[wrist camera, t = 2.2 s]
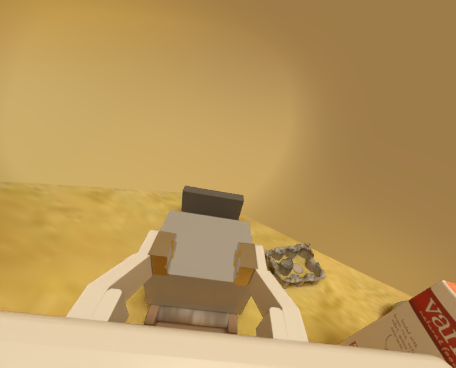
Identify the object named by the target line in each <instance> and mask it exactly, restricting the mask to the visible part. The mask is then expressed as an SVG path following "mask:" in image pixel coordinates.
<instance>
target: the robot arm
mask: <svg viewBox="0 0 456 368" xmlns="http://www.w3.org/2000/svg"><path fill="white" fill-rule="evenodd" d="M176 238H177V234H176V233H171V232H165V231H159V230H152V229H151V230H150V231H149V232H148V234H147V236H146V238H145V240H144V242H143V243H142V245H141V247H140V249H139V251H138V253H134V254H132V255H131V256H129V257H128V258H127V259H125V260H124V261H122V262H121V263H119V264H118V265H116V266H115V267H113V268H112V269H110V270H109V271H107V272H106V273H105V274H103V275H102V276H100V277H99V278H97V279H96V280H94V281H93V282H91V283H90V284H88V286H87V287H86V289H85V290H84V291H83V293H82V294H81V296H80V297H79V299H78V300H77V301H76V303H75V304H74V306H73V307H72V309H71V310H70V311H69V313H68V314H67V316H66V317H61V316H51V315H41V314H31V313H22V312H12V311H2V310H0V368H453V367H452V366H450V365H449V364H448V363H446V362H445V361H444V360H443V359H441V358H439V357H437V356H433V355H429V354H420V353H410V352H400V351H391V350H381V349H371V348H362V347H352V346H342V345H332V344H323V343H313V342H308V338H307V335H306V331H305V327H304V324H303V320H302V317H301V313H300V310H299V308H298V307H297V306H296V305H295V303H294V302H293V301H292V299H291V298H290V297H289V295H288V294H287V293H286V292H285V290H284V289H283V288H282V286H281V285H280V284H279V282H278V281H277V280H276V279H275V277H274V276H273V275H272V273H271V272H270V271H267V266H266V260H265V255H264V249H263V246H262V245H256V244H250V243H242V242H238V243H237V250H235V253H234V258H233V266H234V268H235V269H234V272H233V284H234V285H241V286H247V288H248V290H249V292H250V294H251V296H252V298H253V299H254V301H255V303H256V305H257V307H258V309H259V311H260V313H261V315H262V317H263V319H262V321H261V322H260V324H259V325H258V326H257V328H256V334H257V337H255V336H245V335H235V334H226V333H216V332H206V331H197V330H187V329H177V328H168V327H158V326H148V325H138V324H129V323H126V320H127V318H128V311H127V308H126V304H125V302H126V301H127V300H128V299H129V298H130V297H131V296H132V295H133V294H134V293H135V292H136V291H137V290H138V289H139V288H140V287H141V286H142V285H143V284H144V283H145V282H146V281H147V280H148V279H149V278H150V277H151V276H152V275H161V276H168V273H169V270H170V267H171V260H172V259H173V258H174V255H175V251H176V246H177V242H176Z"/></svg>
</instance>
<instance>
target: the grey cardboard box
mask: <svg viewBox="0 0 456 368" xmlns="http://www.w3.org/2000/svg"><path fill="white" fill-rule="evenodd" d="M160 231H165V232H171V233H176V234H177V238H176V242H177V246H176V251H175V255H174V258H173V259H172V260H171V267H170V270H169V273H168V276H161V275H152V276H151V277H150V278H149V279H148V280H147V281H146V282H145V283H144V291H145V297H146V303H147V304H153V305H162V306H171V307H180V308H188V309H197V310H206V311H215V312H224V313H233V314H242V312H243V310H244V308H245V306H246V304H247V302H248V300H249V298H250V296H251V294H250V292H249V290H248V288H247V286H241V285H234V284H233V272H234V269H235V268H234V266H233V258H234V253H235V250H237V243H238V242H242V243H250V244H252V240H251V231H250V222H245V221H238V220H232V219H225V218H219V217H212V216H206V215H199V214H193V213H186V212H180V211H173V210H170V211H169V213H168V215H167V217H166V219H165V221H164V224H163V226H162V228H161V230H160Z"/></svg>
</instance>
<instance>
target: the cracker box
mask: <svg viewBox="0 0 456 368" xmlns="http://www.w3.org/2000/svg"><path fill="white" fill-rule="evenodd" d="M337 345H342V346H352V347H362V348H371V349H381V350H391V351H400V352H410V353H420V354H429V355H433V356H437V357H439V358H441V359H443V360H444V361H445V362H446V363H448V364H449V365H450V366H452V367H453V368H456V284H455V283H451V282H447V281H444V280H441V281H439V282H438V283H436V284H435V285H433V286H431V287H430V288H428V289H426V290H425V291H423V292H422V293H420V294H418V295H417V296H415V297H413V298H412V299H410V300H409V301H407V302H405V303H403V304H402V305H400V306H399V307H397V308H395V309H394V310H392V311H391V312H389V313H387V314H386V315H384V316H383V317H381V318H379V319H378V320H376V321H374V322H373V323H371V324H370V325H368V326H366V327H365V328H363V329H362V330H360V331H358V332H357V333H355V334H354V335H352V336H350V337H349V338H347V339H345V340H344V341H342V342H340V343H339V344H337Z"/></svg>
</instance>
